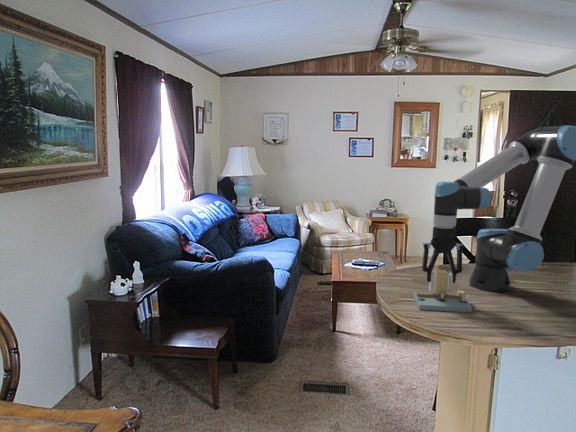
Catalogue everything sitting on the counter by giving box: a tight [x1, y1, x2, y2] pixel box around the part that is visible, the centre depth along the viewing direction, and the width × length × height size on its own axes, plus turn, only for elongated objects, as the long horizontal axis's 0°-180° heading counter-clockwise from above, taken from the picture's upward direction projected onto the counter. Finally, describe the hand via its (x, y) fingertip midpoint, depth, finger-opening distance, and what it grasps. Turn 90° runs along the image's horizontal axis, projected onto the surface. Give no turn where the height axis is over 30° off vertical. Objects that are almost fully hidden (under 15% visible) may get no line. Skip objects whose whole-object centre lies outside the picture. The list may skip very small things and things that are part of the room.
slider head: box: [433, 269, 449, 300], centre depth 160 cm, size 4×6×9 cm, turn 173°
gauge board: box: [412, 290, 473, 313], centre depth 159 cm, size 17×14×4 cm
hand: (440, 290), depth 162 cm, fingers open, 6 cm apart
